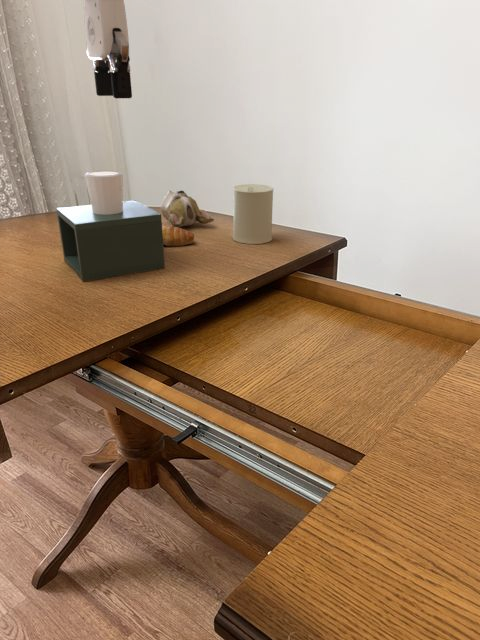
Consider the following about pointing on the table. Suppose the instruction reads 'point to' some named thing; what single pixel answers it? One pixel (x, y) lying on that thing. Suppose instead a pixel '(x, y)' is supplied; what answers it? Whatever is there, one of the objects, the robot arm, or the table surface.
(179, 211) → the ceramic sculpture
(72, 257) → the box
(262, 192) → the can
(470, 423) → the table surface
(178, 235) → the pastry
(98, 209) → the white cup
